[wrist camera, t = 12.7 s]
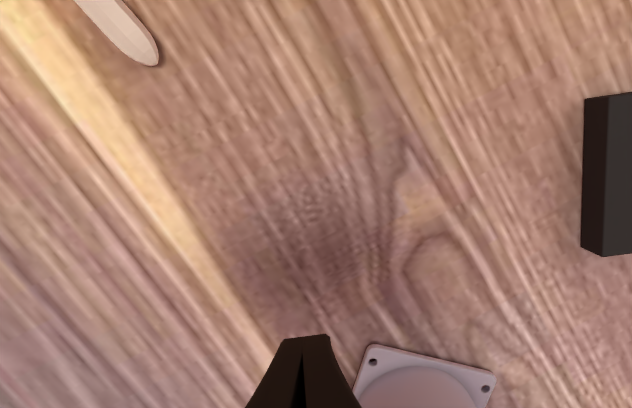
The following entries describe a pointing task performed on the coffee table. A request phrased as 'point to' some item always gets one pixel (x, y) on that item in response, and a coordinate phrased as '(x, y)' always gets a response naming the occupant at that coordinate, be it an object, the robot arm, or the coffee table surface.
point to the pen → (122, 29)
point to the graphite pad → (607, 175)
